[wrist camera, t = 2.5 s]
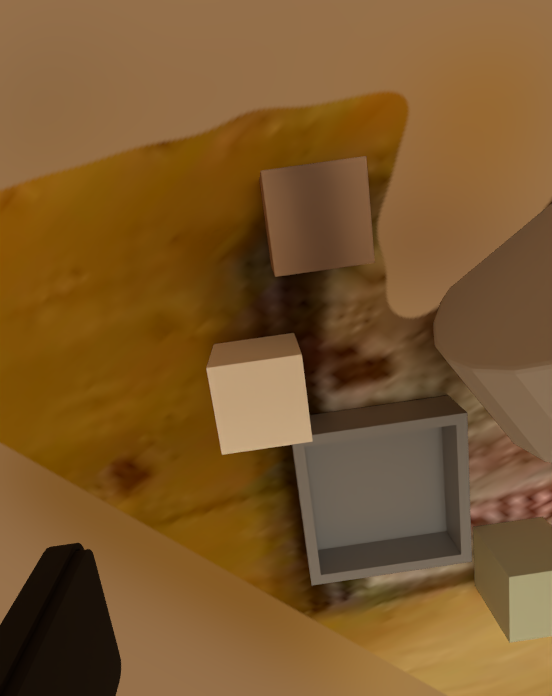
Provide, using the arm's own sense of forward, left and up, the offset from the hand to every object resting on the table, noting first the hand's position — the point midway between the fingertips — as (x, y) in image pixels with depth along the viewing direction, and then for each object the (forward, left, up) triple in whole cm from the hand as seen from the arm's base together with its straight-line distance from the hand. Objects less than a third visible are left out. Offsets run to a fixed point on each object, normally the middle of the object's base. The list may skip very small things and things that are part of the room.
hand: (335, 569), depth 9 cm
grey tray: (-6, +15, -27) cm, 31 cm away
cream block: (+2, +5, -27) cm, 27 cm away
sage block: (-17, +24, -27) cm, 39 cm away
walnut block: (-3, -6, -27) cm, 28 cm away
